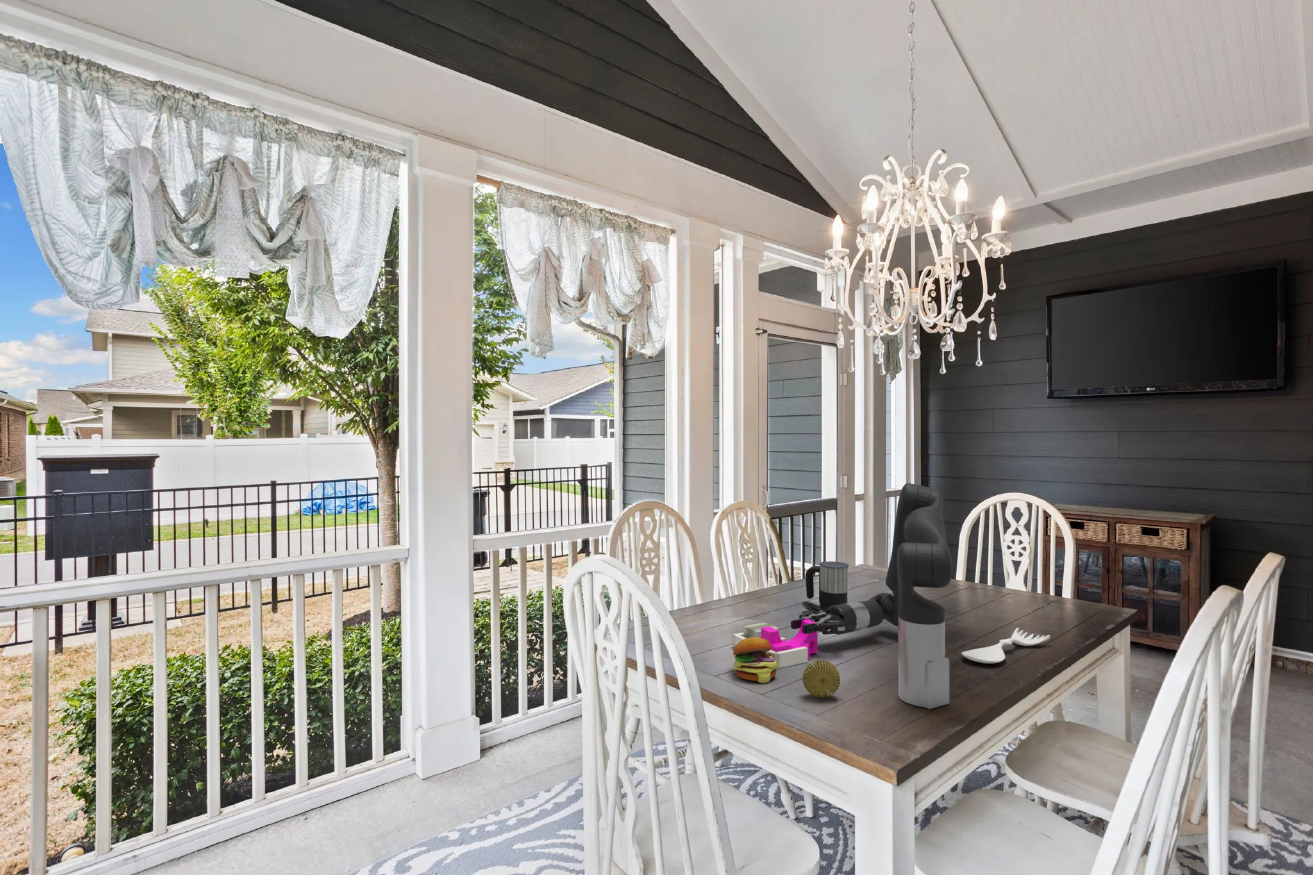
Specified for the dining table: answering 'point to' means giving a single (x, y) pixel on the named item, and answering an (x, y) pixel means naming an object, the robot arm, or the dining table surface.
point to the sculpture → (821, 679)
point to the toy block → (796, 642)
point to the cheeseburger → (754, 660)
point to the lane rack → (781, 653)
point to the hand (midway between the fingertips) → (797, 627)
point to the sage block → (755, 630)
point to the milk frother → (827, 585)
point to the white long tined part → (996, 652)
